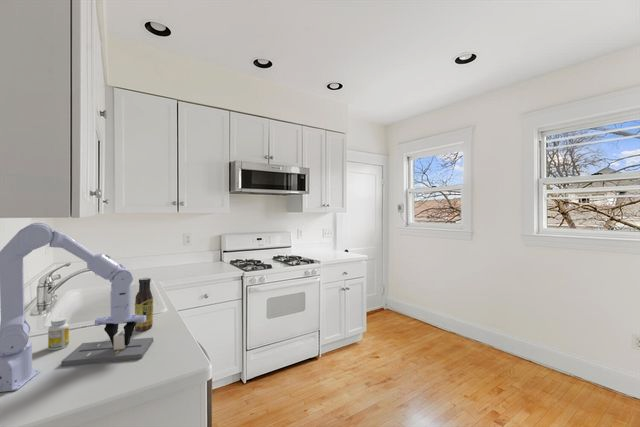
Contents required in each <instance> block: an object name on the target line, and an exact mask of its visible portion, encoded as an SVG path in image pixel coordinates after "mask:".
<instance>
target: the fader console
mask: <svg viewBox="0 0 640 427" xmlns="http://www.w3.org/2000/svg"><path fill="white" fill-rule="evenodd" d="M153 343H154V336H152V337H143V338H141V337H140V338H131V339H130V343H129V344H128V345H127V346H126V347H125V348H124V349H118V350H114V347H113V346H112V342H111V340H106V341H105V340H104V341H93V342H82V343H81V344H79V346H77V347H76V348H75V349H74V350H72V351H71V352H70V353H69V354H68V355H67V356H66V357H64V358H63V359H62V360H60V361H61V362H60V366H61V367H65V366H76V365H87V364H88V365H89V364H96V363H97V364H99V363H108V362H109V363H110V362H117V361H129V360H137V359H138V360H140V359H143V358H144V356H145V354H146V353H147V352H148V350H149V349H150V347H151V346H152V344H153Z"/></svg>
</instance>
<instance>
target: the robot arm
mask: <svg viewBox="0 0 640 427" xmlns="http://www.w3.org/2000/svg"><path fill="white" fill-rule="evenodd" d="M48 244H49V248H60V249H63V250H65V251H66V252H69V253H70V254H72V255H74V256H75V257H77V258H79V259H81V260H82V261H84V262H85V263H86V267H87V269H88V270H89V271H91V272H92V273H94V274H95V275H98V276H99V277H100V278H102V279H103V280H107V281H108V280H109V282H110V283H111V284H110V285H111V286H110V287H111V288H110V290H111V291H110V316H105V317H98V318H96V319H95V320H94V326H95V327H99V326H104V325H105V327H104V328H103V329H104V332H105V333H106V334H107V335H108V337H109V339H110V340H109V341H111V342H112V346H113V347H114V335H115V334H116V333H117V332H118V331H119V325H120V324H124V325H123V331H124V332H125V346H127V345H128V344H129V343H130V339H132V335H133V332H134V330H135V325H136V324H137V322H141V323H144V322H145V321H146V315H135V314H132V288H131V287H132V286H131V284H132V283H133V280H134V277H133V275H132V273H131V271H129V269H127V268H126V267H125V266H124V265H123V264H122V263H120V264H119V263H118V262H116V261H115V260H113V259H111V255H109V254H107V253H106V254H104V253H94V252H92V251H90V249H88V248H87V247H85V246H84V245H82V244H81V243H79V242H78V241H76V240H75V239H73V238H72V237H71V236H70V235H68V234H66V233H64V232H62V231H60V230H59V229H56V228H52V227H51V226H50V225H48V224H47V223H43V222H33V223H29V224H28V225H26V226H25V227H24V228H21V229H19V231H18V232H17V233H16V234H15V235H14V236H13V237H12V238H10V240H9V241H8V242H7V243H6V244H5V245H4V246H3V248H1V249H0V393H3V392H12V391H13V392H14V391H17V390H19V389H20V388H22V386H23V385H25V384H26V383H28V381H30V380H31V379H33V378H34V377H36V375H37V374H39V373H40V372H41V369H33V343H32V342H31V341H30V340H29V334H30V332H31V325H30V324H29V323H28V322H27V320H26V311H25V279H24V278H25V276H24V274H25V273H24V258H25V257H26V256H28V255H29V254H30V253H32V252H33V251H35V250H38V249H40V248H42V247H44V246H47V245H48Z"/></svg>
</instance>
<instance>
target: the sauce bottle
mask: <svg viewBox="0 0 640 427" xmlns="http://www.w3.org/2000/svg"><path fill="white" fill-rule="evenodd" d="M151 281H152V278H151V277H141V278H138V283H139V284H138V291H137V293H136V295H135V303H134V315H146V321H145V322H144V323H141V322H137V324H136V325H135V328H134V330H135V331H139V332H144V331H149V330H150V329H151V328H152V327H153V323H154V297H153V294H152V291H151Z"/></svg>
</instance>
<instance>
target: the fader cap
mask: <svg viewBox="0 0 640 427" xmlns="http://www.w3.org/2000/svg"><path fill="white" fill-rule="evenodd" d="M125 347H126V346H125V332H124V330H118V332H117V333H116V334H115V335H114V350H118V349H124V348H125Z"/></svg>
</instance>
